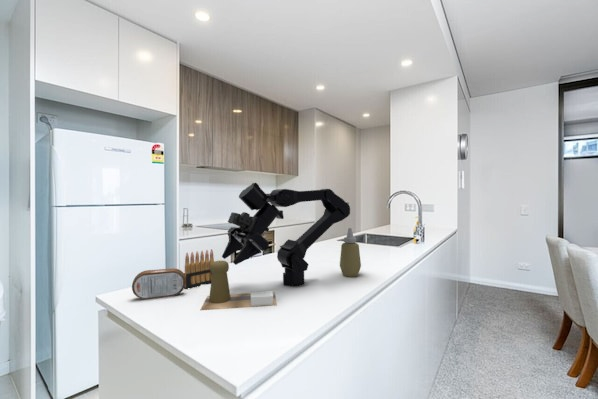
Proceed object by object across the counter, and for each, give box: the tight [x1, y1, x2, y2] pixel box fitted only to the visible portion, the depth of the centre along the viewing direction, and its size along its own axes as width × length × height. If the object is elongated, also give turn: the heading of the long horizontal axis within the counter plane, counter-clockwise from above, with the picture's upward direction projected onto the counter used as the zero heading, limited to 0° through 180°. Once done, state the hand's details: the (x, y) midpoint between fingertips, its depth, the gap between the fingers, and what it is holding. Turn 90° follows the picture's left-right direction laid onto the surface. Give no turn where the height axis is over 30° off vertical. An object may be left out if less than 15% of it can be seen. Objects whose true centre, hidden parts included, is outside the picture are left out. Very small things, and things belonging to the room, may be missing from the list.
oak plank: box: [199, 291, 278, 311], centre depth 82 cm, size 20×11×1 cm, turn 98°
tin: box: [131, 267, 186, 300], centre depth 89 cm, size 15×3×8 cm, turn 110°
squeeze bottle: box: [339, 227, 362, 278], centre depth 110 cm, size 8×8×18 cm
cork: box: [208, 260, 231, 303], centre depth 82 cm, size 6×6×11 cm
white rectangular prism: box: [250, 290, 274, 307], centre depth 80 cm, size 6×4×2 cm, turn 98°
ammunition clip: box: [183, 249, 215, 290], centre depth 100 cm, size 11×2×12 cm, turn 133°
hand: (228, 260), depth 84 cm, fingers open, 9 cm apart
